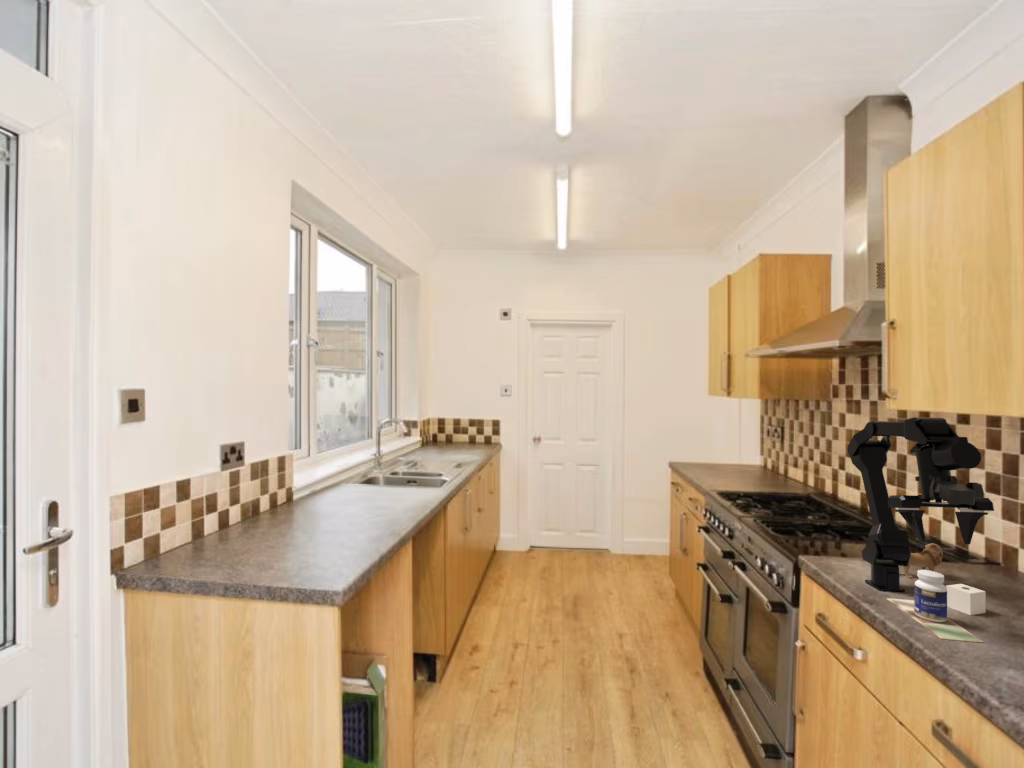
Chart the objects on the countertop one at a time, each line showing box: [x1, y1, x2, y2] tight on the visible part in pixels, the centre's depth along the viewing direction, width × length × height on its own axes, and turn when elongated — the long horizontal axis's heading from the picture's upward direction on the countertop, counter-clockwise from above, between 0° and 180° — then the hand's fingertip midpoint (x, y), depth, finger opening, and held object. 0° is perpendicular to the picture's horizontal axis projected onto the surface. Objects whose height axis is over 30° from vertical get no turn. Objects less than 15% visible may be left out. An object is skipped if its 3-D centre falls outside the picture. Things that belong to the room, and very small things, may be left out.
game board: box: [886, 597, 984, 644], centre depth 115 cm, size 21×8×1 cm, turn 169°
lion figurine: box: [902, 542, 944, 579], centre depth 142 cm, size 15×5×9 cm, turn 94°
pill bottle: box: [913, 569, 948, 622], centre depth 115 cm, size 6×6×10 cm
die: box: [945, 583, 987, 616], centre depth 120 cm, size 5×5×5 cm
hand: (944, 543), depth 113 cm, fingers open, 9 cm apart
